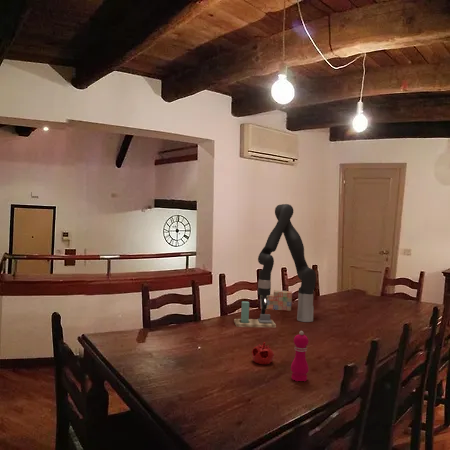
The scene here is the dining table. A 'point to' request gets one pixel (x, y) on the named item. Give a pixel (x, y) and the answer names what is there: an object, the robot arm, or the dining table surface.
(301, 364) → the pepper mill
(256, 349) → the pomegranate
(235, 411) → the dining table surface
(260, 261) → the robot arm
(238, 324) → the puzzle board
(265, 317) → the lid
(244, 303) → the peg
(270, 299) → the stack of blocks
